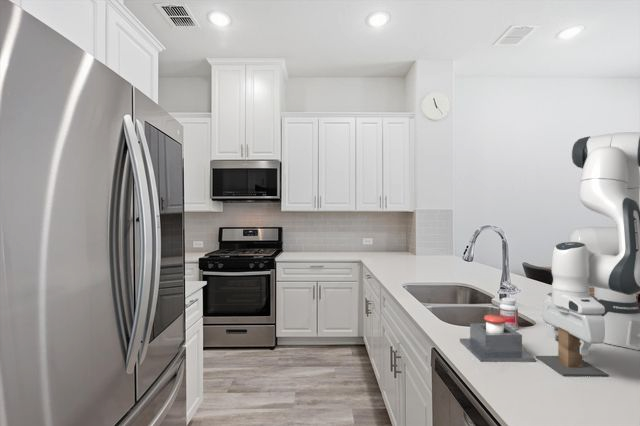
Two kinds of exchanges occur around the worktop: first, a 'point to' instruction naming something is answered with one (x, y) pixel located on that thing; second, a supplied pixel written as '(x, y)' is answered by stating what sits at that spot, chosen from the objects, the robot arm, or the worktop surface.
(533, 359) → the box
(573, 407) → the worktop surface
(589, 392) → the worktop surface
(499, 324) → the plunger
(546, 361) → the mat
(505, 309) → the pill bottle
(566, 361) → the stacked wooden blocks
